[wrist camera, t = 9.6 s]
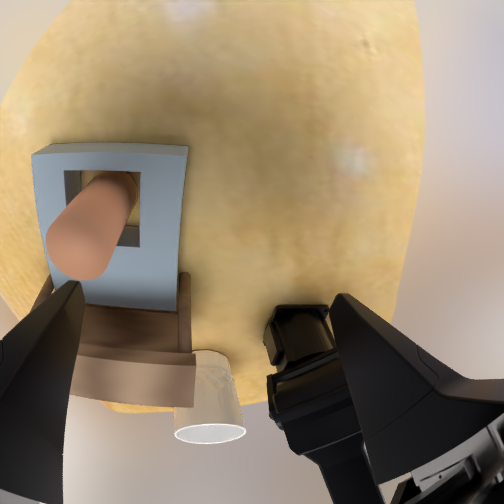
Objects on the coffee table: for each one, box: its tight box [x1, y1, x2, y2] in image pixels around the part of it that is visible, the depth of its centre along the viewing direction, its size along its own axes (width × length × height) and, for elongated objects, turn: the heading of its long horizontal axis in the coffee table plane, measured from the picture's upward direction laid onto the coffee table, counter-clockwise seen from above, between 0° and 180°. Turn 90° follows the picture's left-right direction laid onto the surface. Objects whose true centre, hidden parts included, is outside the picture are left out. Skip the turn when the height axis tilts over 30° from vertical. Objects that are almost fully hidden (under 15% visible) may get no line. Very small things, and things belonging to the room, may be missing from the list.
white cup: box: [174, 350, 246, 444], centre depth 28 cm, size 8×8×10 cm
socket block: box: [31, 143, 189, 311], centre depth 19 cm, size 11×13×3 cm
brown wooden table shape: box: [30, 272, 196, 408], centre depth 20 cm, size 14×7×10 cm, turn 79°
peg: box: [45, 171, 137, 280], centre depth 15 cm, size 4×4×8 cm
